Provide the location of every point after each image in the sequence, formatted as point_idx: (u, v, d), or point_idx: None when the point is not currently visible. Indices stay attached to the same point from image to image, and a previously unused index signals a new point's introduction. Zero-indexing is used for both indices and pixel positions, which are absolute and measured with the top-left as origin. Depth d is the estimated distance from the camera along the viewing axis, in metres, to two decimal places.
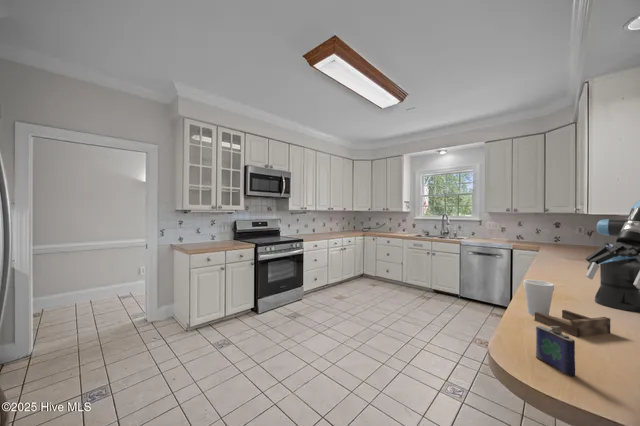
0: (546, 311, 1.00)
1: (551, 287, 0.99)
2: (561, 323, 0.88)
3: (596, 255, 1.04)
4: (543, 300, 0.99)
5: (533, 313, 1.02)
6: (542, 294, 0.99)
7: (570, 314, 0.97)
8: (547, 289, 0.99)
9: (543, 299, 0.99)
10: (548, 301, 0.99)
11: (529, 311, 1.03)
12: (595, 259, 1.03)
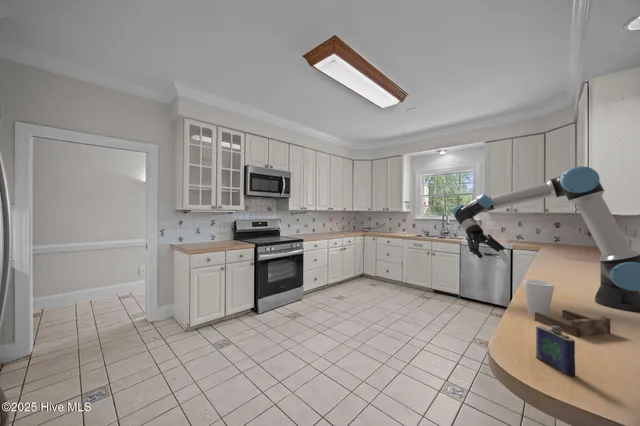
0: (546, 311, 1.00)
1: (551, 287, 0.99)
2: (561, 323, 0.88)
3: None
4: (543, 300, 0.99)
5: (533, 313, 1.02)
6: (542, 294, 0.99)
7: (570, 314, 0.97)
8: (547, 289, 0.99)
9: (543, 299, 0.99)
10: (548, 301, 0.99)
11: (529, 311, 1.03)
12: None
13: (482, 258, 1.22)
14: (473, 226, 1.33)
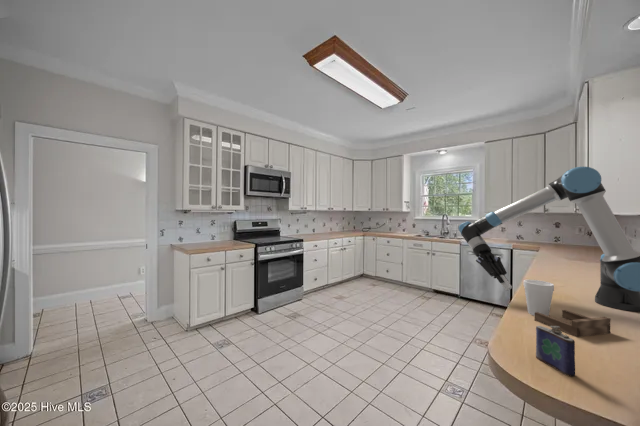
0: (546, 311, 1.00)
1: (551, 287, 0.99)
2: (561, 323, 0.88)
3: None
4: (543, 300, 0.99)
5: (533, 313, 1.02)
6: (542, 294, 0.99)
7: (570, 314, 0.97)
8: (547, 289, 0.99)
9: (543, 299, 0.99)
10: (548, 301, 0.99)
11: (529, 311, 1.03)
12: None
13: (504, 284, 1.17)
14: (480, 245, 1.28)
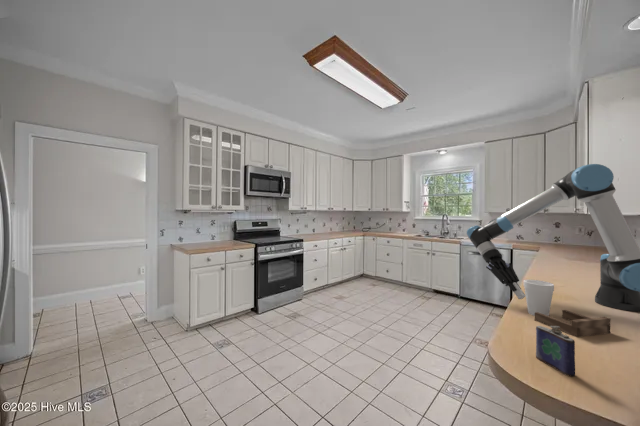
0: (546, 311, 1.00)
1: (551, 287, 0.99)
2: (561, 323, 0.88)
3: None
4: (543, 300, 0.99)
5: (533, 313, 1.02)
6: (542, 294, 0.99)
7: (570, 314, 0.97)
8: (547, 289, 0.99)
9: (543, 299, 0.99)
10: (548, 301, 0.99)
11: (529, 311, 1.03)
12: None
13: (516, 292, 1.11)
14: (491, 251, 1.22)
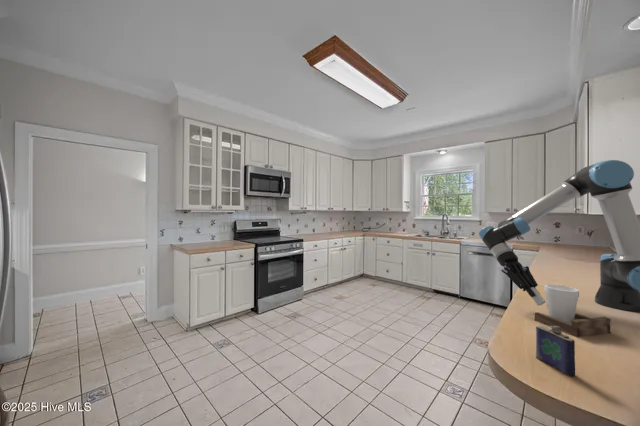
0: (572, 319, 0.92)
1: (578, 293, 0.92)
2: (561, 323, 0.88)
3: None
4: (570, 307, 0.92)
5: None
6: (569, 301, 0.91)
7: None
8: (574, 295, 0.91)
9: (570, 306, 0.92)
10: (574, 308, 0.92)
11: None
12: None
13: (535, 297, 1.03)
14: (506, 253, 1.14)
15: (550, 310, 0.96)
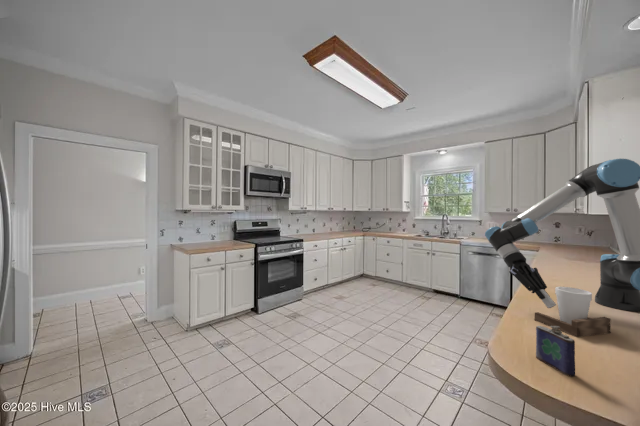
0: None
1: (591, 296, 0.89)
2: (561, 323, 0.88)
3: None
4: (583, 311, 0.89)
5: None
6: (582, 304, 0.88)
7: None
8: (588, 298, 0.88)
9: (583, 309, 0.89)
10: (587, 311, 0.89)
11: None
12: None
13: (545, 300, 1.00)
14: (514, 254, 1.11)
15: (562, 313, 0.93)
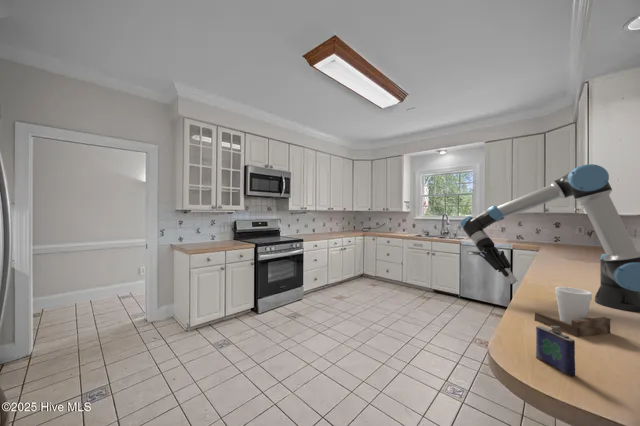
0: None
1: (590, 296, 0.89)
2: (561, 323, 0.88)
3: None
4: (583, 311, 0.89)
5: None
6: (582, 304, 0.88)
7: None
8: (587, 298, 0.88)
9: (583, 309, 0.89)
10: (587, 311, 0.89)
11: None
12: None
13: (509, 277, 1.16)
14: (484, 239, 1.27)
15: (562, 313, 0.93)
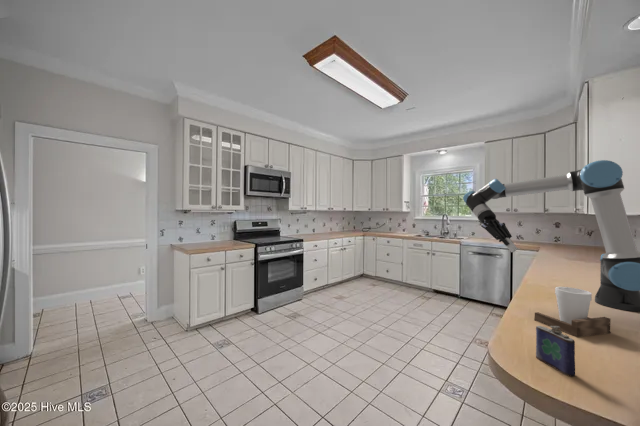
0: None
1: (590, 296, 0.89)
2: (561, 323, 0.88)
3: None
4: (583, 311, 0.89)
5: None
6: (582, 304, 0.88)
7: None
8: (587, 298, 0.88)
9: (583, 309, 0.89)
10: (587, 311, 0.89)
11: None
12: None
13: (509, 246, 1.19)
14: (485, 211, 1.30)
15: (562, 313, 0.93)
